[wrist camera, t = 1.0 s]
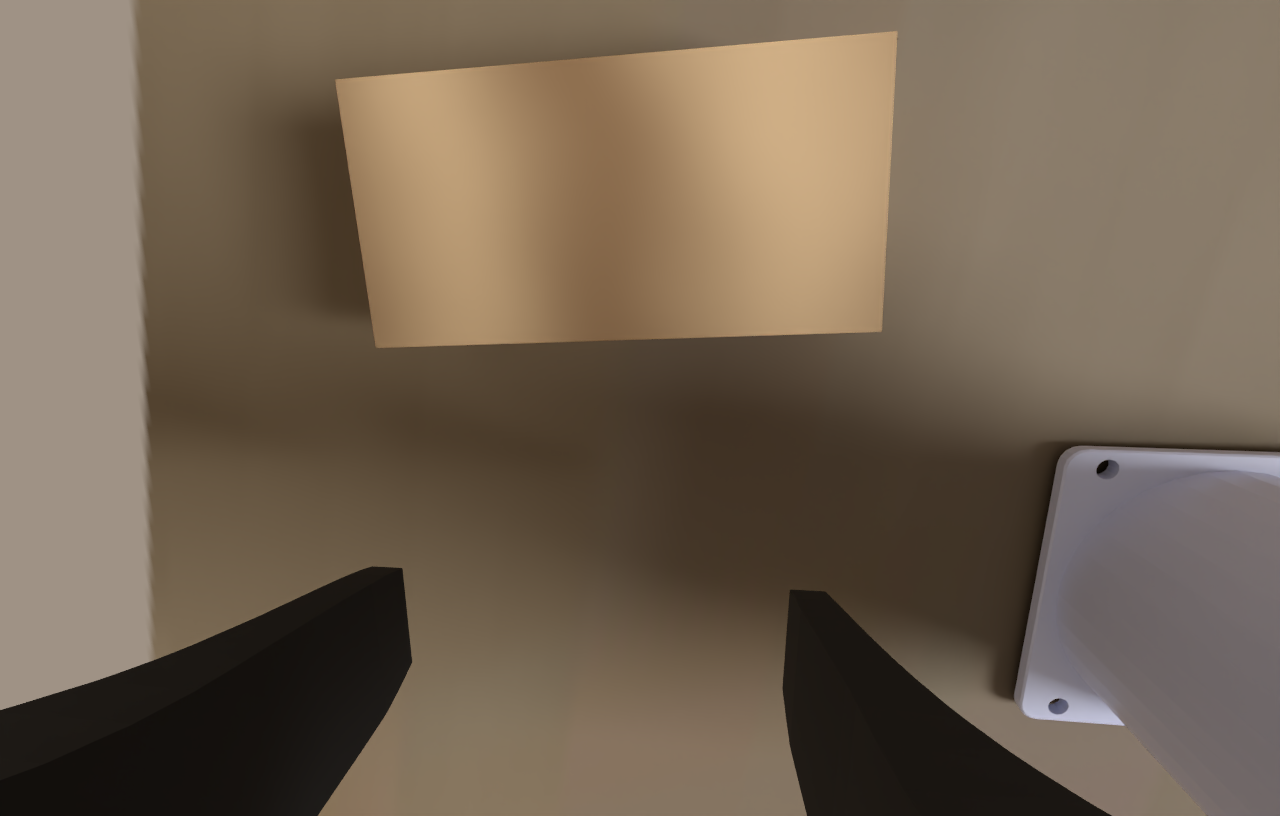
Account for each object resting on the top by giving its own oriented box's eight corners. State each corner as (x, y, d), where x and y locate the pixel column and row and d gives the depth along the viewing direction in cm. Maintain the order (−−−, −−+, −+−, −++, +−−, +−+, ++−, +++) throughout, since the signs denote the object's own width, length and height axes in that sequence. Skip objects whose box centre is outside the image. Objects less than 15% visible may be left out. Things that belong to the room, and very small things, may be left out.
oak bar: (837, 102, 14) (897, 31, 10) (831, 312, 15) (881, 331, 11) (439, 131, 15) (335, 79, 11) (462, 325, 16) (375, 348, 12)
